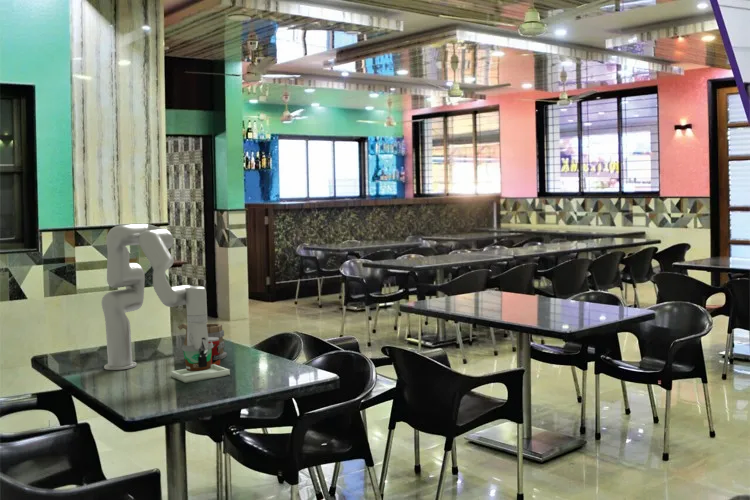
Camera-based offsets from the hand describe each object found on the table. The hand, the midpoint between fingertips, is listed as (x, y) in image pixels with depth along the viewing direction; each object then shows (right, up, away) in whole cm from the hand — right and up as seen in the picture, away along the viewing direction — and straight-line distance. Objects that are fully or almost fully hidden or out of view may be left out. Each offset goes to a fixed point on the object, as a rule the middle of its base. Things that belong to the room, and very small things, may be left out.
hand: (199, 365), depth 299 cm
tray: (0, -4, 0) cm, 4 cm away
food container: (+1, -2, 0) cm, 2 cm away
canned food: (0, -3, +19) cm, 19 cm away
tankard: (-6, -2, +35) cm, 35 cm away
